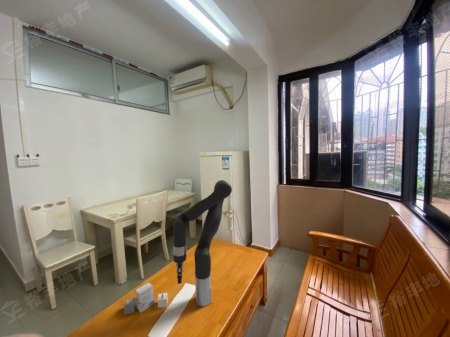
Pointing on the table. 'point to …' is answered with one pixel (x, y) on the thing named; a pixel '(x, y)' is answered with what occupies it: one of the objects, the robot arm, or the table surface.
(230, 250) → the table surface
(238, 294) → the table surface
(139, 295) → the ink box
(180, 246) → the robot arm
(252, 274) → the table surface
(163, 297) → the digit one block
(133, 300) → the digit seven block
